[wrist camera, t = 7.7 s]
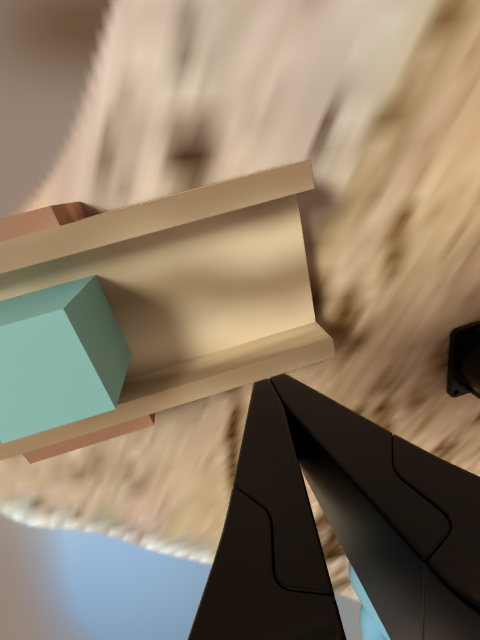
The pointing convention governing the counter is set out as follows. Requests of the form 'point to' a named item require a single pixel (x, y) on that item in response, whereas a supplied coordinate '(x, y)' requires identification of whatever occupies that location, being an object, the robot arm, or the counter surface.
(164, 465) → the counter surface
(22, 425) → the block
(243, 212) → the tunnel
